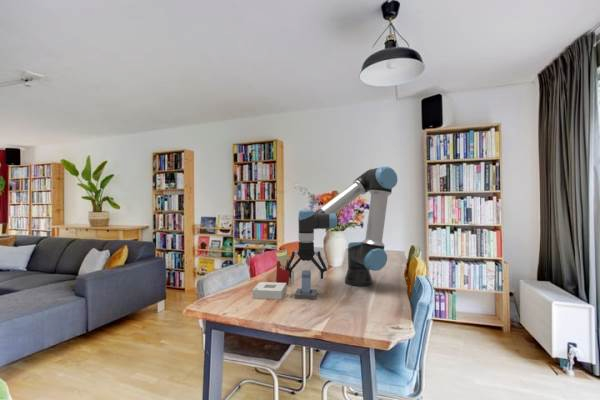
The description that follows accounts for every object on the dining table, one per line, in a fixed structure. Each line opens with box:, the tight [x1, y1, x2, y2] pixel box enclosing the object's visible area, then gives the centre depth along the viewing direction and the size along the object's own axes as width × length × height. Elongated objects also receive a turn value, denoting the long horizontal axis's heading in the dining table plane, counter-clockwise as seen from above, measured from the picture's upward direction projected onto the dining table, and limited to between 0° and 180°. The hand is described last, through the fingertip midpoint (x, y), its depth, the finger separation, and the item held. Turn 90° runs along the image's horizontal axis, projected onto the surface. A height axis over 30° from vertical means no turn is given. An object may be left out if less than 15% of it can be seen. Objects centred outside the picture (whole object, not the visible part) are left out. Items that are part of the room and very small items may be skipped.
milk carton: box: [274, 247, 292, 287], centre depth 164 cm, size 9×9×20 cm
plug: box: [301, 269, 312, 294], centre depth 143 cm, size 4×4×12 cm
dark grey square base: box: [294, 287, 318, 301], centre depth 143 cm, size 10×10×2 cm
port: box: [251, 281, 287, 301], centre depth 146 cm, size 14×14×4 cm
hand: (306, 285), depth 143 cm, fingers open, 13 cm apart
